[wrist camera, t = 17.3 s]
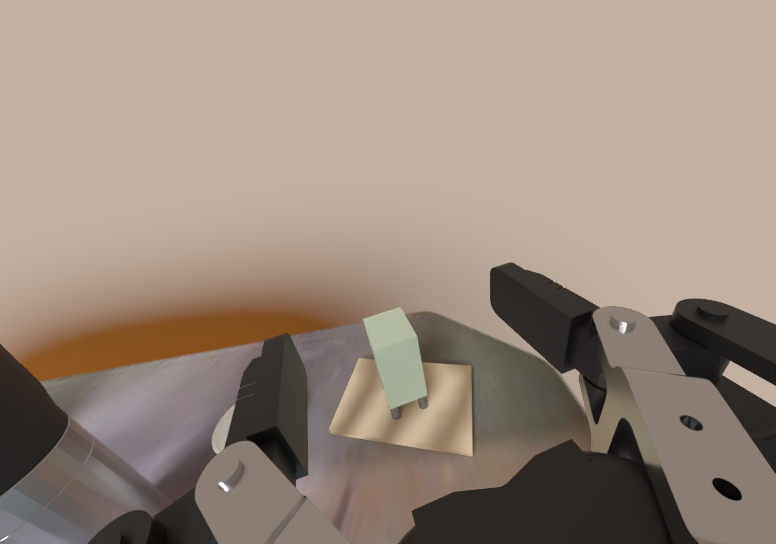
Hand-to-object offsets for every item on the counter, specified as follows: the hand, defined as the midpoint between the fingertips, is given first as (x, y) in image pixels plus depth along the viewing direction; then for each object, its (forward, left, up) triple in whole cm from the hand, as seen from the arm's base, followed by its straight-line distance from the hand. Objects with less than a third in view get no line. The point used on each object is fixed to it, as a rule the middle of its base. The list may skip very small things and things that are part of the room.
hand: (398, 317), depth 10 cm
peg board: (-7, +15, -28) cm, 33 cm away
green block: (-7, +15, -24) cm, 30 cm away
